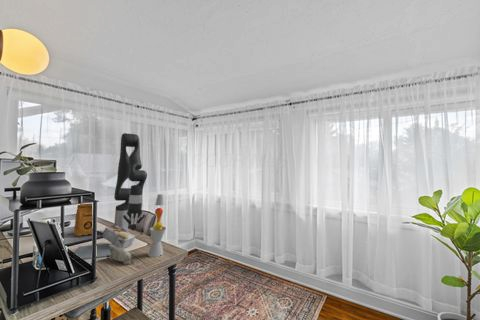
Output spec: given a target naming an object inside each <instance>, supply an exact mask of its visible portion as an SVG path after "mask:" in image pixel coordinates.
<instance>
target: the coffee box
mask: <svg viewBox="0 0 480 320" xmlns="http://www.w3.org/2000/svg"><path fill="white" fill-rule="evenodd" d="M101 234H102V235H101V238H103V239H105V241H108V242H109V243H110V244H114V245H115V246H117V247H120V248H122V249H124V250H125V249H126V248H127V247H130V246H132V245H133V242H134V241H135V239H136V236H135V235H134V234H132V233H131V232H130V231H129V230H128V231H126V230H124V229H123V228H121V227H120V226H118V225H117V224H116V225H114V224H113V225H109V226H107V227H105V229H104V230H103V232H102V233H101Z"/></svg>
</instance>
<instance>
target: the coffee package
mask: <svg viewBox="0 0 480 320" xmlns="http://www.w3.org/2000/svg"><path fill="white" fill-rule="evenodd" d="M79 204H80V205H78V204H77V207H76V208H77V209H76V212H75V213H76V214H75V221H74V230H73V235H74V236H75V237H83V236H82V235H84V236H89V235H88V234H91V235H93V234H92V203H79Z"/></svg>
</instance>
